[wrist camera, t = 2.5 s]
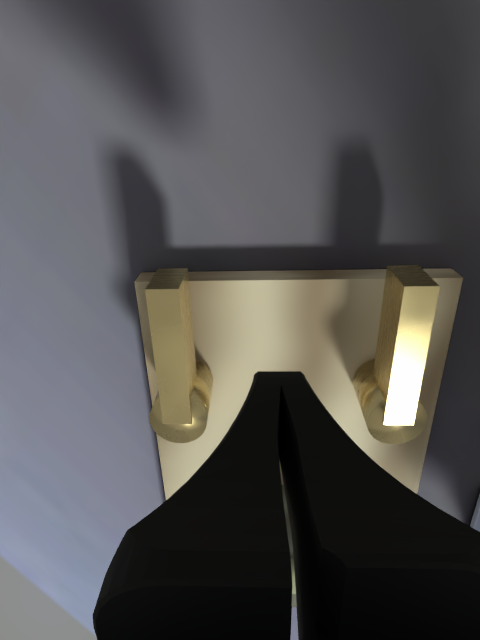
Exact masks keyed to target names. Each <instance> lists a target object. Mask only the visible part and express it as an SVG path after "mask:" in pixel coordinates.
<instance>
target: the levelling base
mask: <svg viewBox="0 0 480 640" xmlns="http://www.w3.org/2000/svg"><path fill="white" fill-rule="evenodd" d="M386 270H387V269H363V270H286V271H210V272H188V276H189V288H190V300H191V312H192V323H193V335H194V347H195V359H196V361H199V362H201V363H203V364H204V365H205V366H206V367H207V368H208V369H209V370H210V371H211V373H212V376H213V389H212V395H211V401H210V407H209V413H208V419H207V425H206V429H205V431H204V433H203V434H202V435H201V436H200V437H199V438H198V439H196V440H194V441H191V442H188V443H174V442H170V441H167V440H165V439H163V438H161V437H160V436H159V435H157V434H156V435H157V442H158V448H159V455H160V462H161V469H162V476H163V483H164V490H165V497H166V500H167V499H168V498H169V497H171V496H172V495H173V494H174V493H175V492H176V491H177V490H178V489H179V488H180V487H181V486H182V485H184V484H185V483H186V482H187V481H188V480H189V479H190V478H191V477H192V476H193V475H194V473H195V472H196V471H197V470H198V469H199V468H200V467H201V466H202V464H203V463H204V462H205V461H206V460H207V459H208V458H209V456H210V455H211V454H212V453H213V451H214V450H215V449H216V447H217V446H218V445H219V443H220V442H221V441H222V439H223V438H224V436H225V435H226V433H227V432H228V430H229V428H230V427H231V425H232V423H233V422H234V420H235V419H236V417H237V415H238V413H239V411H240V409H241V407H242V406H243V404H244V402H245V400H246V397H247V395H248V393H249V390H250V388H251V385H252V382H253V378H254V374H255V373H257V372H258V371H301V372H302V373H303V374H304V375H305V377H306V379H307V381H308V383H309V384H310V386H311V388H312V389H313V391H314V392H315V394H316V395H317V397H318V398H319V400H320V401H321V402H322V404H323V405H324V407H325V408H326V409H327V410H328V412H329V413H330V414H331V416H332V417H333V418H334V419H335V421H336V422H337V423H338V424H339V426H340V427H341V428H342V429H343V430H344V431H345V432H346V433H347V435H348V436H349V437H350V438H351V439H352V440H353V441H354V442H355V443H356V444H357V445H358V446H359V447H360V448H361V449H362V450H363V451H364V452H365V453H366V454H367V455H368V456H369V457H370V458H371V459H372V460H373V461H375V462H376V463H377V464H378V465H379V466H380V467H381V468H383V469H384V470H385V471H387V472H388V473H389V474H390V475H392V476H393V477H394V478H396V479H397V480H398V481H399V482H401V483H402V484H403V485H405V486H406V487H407V488H409V489H410V490H412V491H413V492H414V493H416V494H417V492H418V487H419V482H420V478H421V473H422V468H423V464H424V459H425V454H426V450H427V445H428V440H429V436H430V431H431V426H432V422H433V417H434V412H435V408H436V403H437V398H438V394H439V389H440V384H441V380H442V375H443V370H444V366H445V361H446V356H447V352H448V347H449V342H450V338H451V333H452V328H453V324H454V319H455V314H456V309H457V305H458V300H459V295H460V291H461V286H462V281H463V277H462V276H460V275H459V274H458V273H457V272H456V271H454V270H453V269H452V268H439V269H423V270H424V271H425V272H426V273H427V274H428V275H429V276H430V277H431V278H432V279H433V280H434V281H435V282H436V283H437V284H438V285H439V286H440V289H439V294H438V299H437V305H436V310H435V315H434V320H433V326H432V331H431V336H430V341H429V347H428V352H427V357H426V362H425V368H424V373H423V378H422V383H421V389H420V394H419V399H420V401H421V403H422V405H423V406H424V408H425V410H426V413H427V423H426V426H425V428H424V430H423V431H422V432H421V433H420V434H419V435H418V436H417V437H416V438H414V439H412V440H410V441H408V442H405V443H401V444H386V443H382V442H380V441H378V440H376V439H375V438H373V437H372V436H371V434H370V433H369V431H368V428H367V425H366V422H365V419H364V416H363V413H362V410H361V408H360V405H359V402H358V399H357V396H356V393H355V390H354V387H353V377H354V374H355V372H356V371H357V369H358V368H359V367H360V366H361V365H362V364H364V363H365V362H367V361H370V360H373V359H375V355H376V347H377V339H378V332H379V324H380V316H381V308H382V301H383V293H384V285H385V277H386ZM155 273H156V272H141V273H140V275H139V276H138V278H137V279H136V280H135V289H136V296H137V303H138V310H139V317H140V324H141V331H142V338H143V345H144V352H145V358H146V365H147V372H148V379H149V386H150V393H151V400H152V407H153V404H154V401H155V398H156V395H157V393H158V384H157V376H156V369H155V361H154V354H153V346H152V339H151V331H150V324H149V317H148V309H147V302H146V294H145V288H146V287H147V285H148V284H149V282H150V281H151V279H152V277H153V276H154V274H155ZM279 463H280V462H279ZM280 473H281V484H282V493H283V502H284V511H285V518H286V526H287V534H288V541H289V548H290V557H291V571H292V607H297V602H296V586H295V571H294V556H293V544H292V535H291V528H290V521H289V515H288V509H287V503H286V496H285V490H284V484H283V478H282V471H281V465H280Z"/></svg>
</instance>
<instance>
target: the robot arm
mask: <svg viewBox="0 0 480 640" xmlns="http://www.w3.org/2000/svg"><path fill="white" fill-rule="evenodd" d="M279 462H280V463H279ZM280 465H281V471H282V478H283V484H284V490H285V496H286V503H287V509H288V515H289V521H290V528H291V535H292V544H293V556H294V571H295V586H296V602H297V619H298V636H299V640H480V494H479V498H478V501H477V504H476V508H475V511H474V514H473V517H472V521H471V524H470V526H468V525H467V524H465V523H463V522H461V521H460V520H458V519H456V518H454V517H453V516H451V515H449V514H447V513H446V512H444V511H442V510H440V509H439V508H437V507H436V506H434V505H432V504H431V503H429V502H428V501H426V500H425V499H423V498H422V497H420V496H419V495H417V494H416V493H414V492H413V491H412V490H410V489H409V488H407V487H406V486H405V485H403V484H402V483H401V482H399V481H398V480H397V479H396V478H394V477H393V476H392V475H390V474H389V473H388V472H387V471H385V470H384V469H383V468H381V467H380V466H379V465H378V464H377V463H376V462H375V461H373V460H372V459H371V458H370V457H369V456H368V455H367V454H366V453H365V452H364V451H363V450H362V449H361V448H360V447H359V446H358V445H357V444H356V443H355V442H354V441H353V440H352V439H351V438H350V437H349V436H348V435H347V433H346V432H345V431H344V430H343V429H342V428H341V427H340V426H339V424H338V423H337V422H336V421H335V419H334V418H333V417H332V416H331V414H330V413H329V412H328V410H327V409H326V408H325V407H324V405H323V404H322V402H321V401H320V400H319V398H318V397H317V395H316V394H315V392H314V391H313V389H312V388H311V386H310V384H309V383H308V381H307V379H306V377H305V375H304V374H303V373H302V372H301V371H258V372H257V373H255V374H254V378H253V382H252V385H251V388H250V390H249V393H248V395H247V397H246V400H245V402H244V404H243V406H242V407H241V409H240V411H239V413H238V415H237V417H236V419H235V420H234V422H233V423H232V425H231V427H230V428H229V430H228V432H227V433H226V435H225V436H224V438H223V439H222V441H221V442H220V443H219V445H218V446H217V447H216V449H215V450H214V451H213V453H212V454H211V455H210V456H209V458H208V459H207V460H206V461H205V462H204V463H203V464H202V466H201V467H200V468H199V469H198V470H197V471H196V472H195V473H194V475H193V476H192V477H191V478H190V479H189V480H188V481H187V482H186V483H185V484H184V485H182V486H181V487H180V488H179V489H178V490H177V491H176V492H175V493H174V494H173V495H172V496H171V497H169V498H168V499H167V500H166V501H165V502H164V503H163V504H162V505H160V506H159V507H158V508H157V509H155V510H154V511H153V512H151V513H150V514H149V515H148V516H146V517H145V518H144V519H142V520H141V521H140V522H138V523H137V524H136V525H134V526H133V527H131V528H130V529H129V530H127V532H126V534H125V535H124V537H123V539H122V541H121V543H120V545H119V547H118V549H117V551H116V553H115V555H114V557H113V559H112V561H111V564H110V566H109V568H108V570H107V573H106V575H105V578H104V581H103V584H102V587H101V591H100V594H99V597H98V600H97V603H96V607H95V610H94V613H93V624H94V630H95V633H96V636H97V640H290V634H291V610H292V571H291V557H290V548H289V541H288V534H287V526H286V518H285V511H284V502H283V493H282V484H281V473H280Z"/></svg>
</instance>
